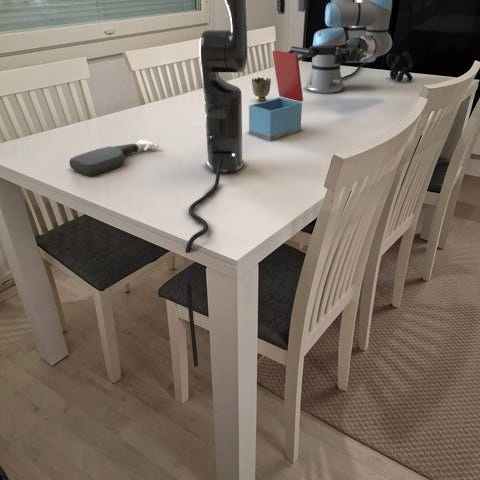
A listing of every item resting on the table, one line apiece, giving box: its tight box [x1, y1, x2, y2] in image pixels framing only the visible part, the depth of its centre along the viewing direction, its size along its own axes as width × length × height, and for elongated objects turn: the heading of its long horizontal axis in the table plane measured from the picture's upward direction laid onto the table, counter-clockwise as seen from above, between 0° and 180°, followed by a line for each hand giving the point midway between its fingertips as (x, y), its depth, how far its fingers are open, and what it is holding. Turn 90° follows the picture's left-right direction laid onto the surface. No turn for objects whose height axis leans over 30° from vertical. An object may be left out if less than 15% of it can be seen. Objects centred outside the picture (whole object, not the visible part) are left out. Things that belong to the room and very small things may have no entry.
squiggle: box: [385, 51, 414, 83], centre depth 198 cm, size 11×10×15 cm
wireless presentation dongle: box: [68, 139, 160, 177], centre depth 124 cm, size 3×11×24 cm
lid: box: [272, 45, 313, 103], centre depth 139 cm, size 14×10×9 cm
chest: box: [248, 97, 303, 141], centre depth 141 cm, size 14×10×9 cm
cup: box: [251, 76, 272, 102], centre depth 173 cm, size 8×7×8 cm
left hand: (291, 12), depth 128 cm, fingers open, 8 cm apart
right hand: (318, 56), depth 143 cm, fingers open, 13 cm apart
